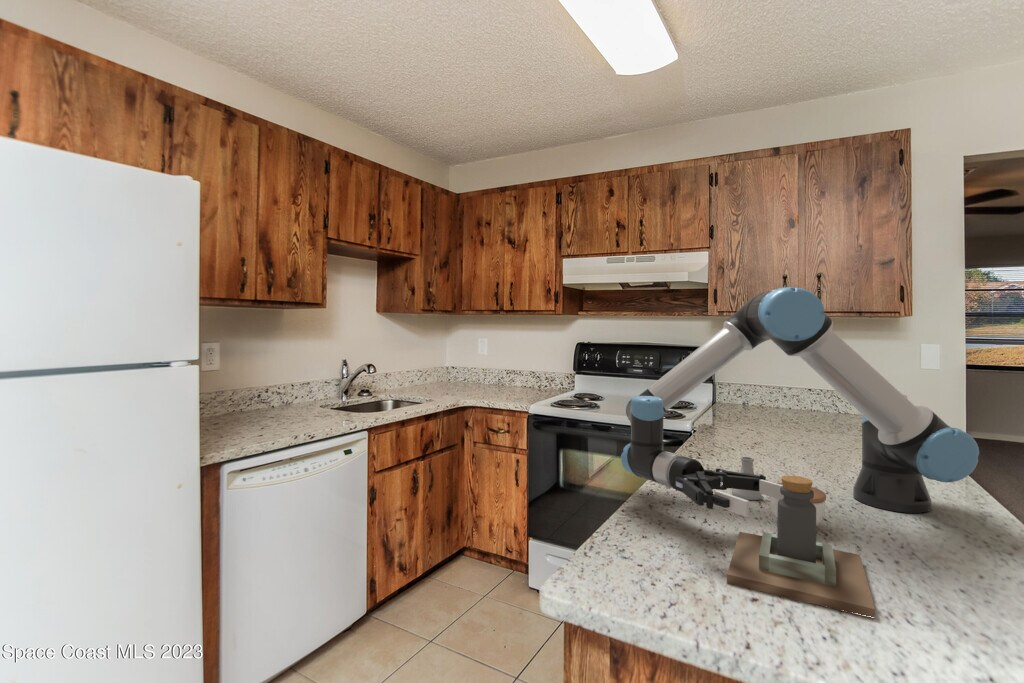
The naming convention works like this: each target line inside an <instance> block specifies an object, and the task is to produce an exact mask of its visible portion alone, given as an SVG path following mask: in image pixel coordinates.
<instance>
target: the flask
mask: <svg viewBox="0 0 1024 683" xmlns="http://www.w3.org/2000/svg"><path fill="white" fill-rule="evenodd" d="M740 460H741V466H740V471H739V473H746V474H753V475H755V473H754V468H753V467H754V461H755V458H754V457H752V456H744V455H743V456H740ZM731 495H733V496H736V497H739V498H742V499H745V500H748V501H750V500H751V501H758V500H760V501H761V500H763V494H760V493H759V491H751V490H742V489H732V492H731Z"/></svg>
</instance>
